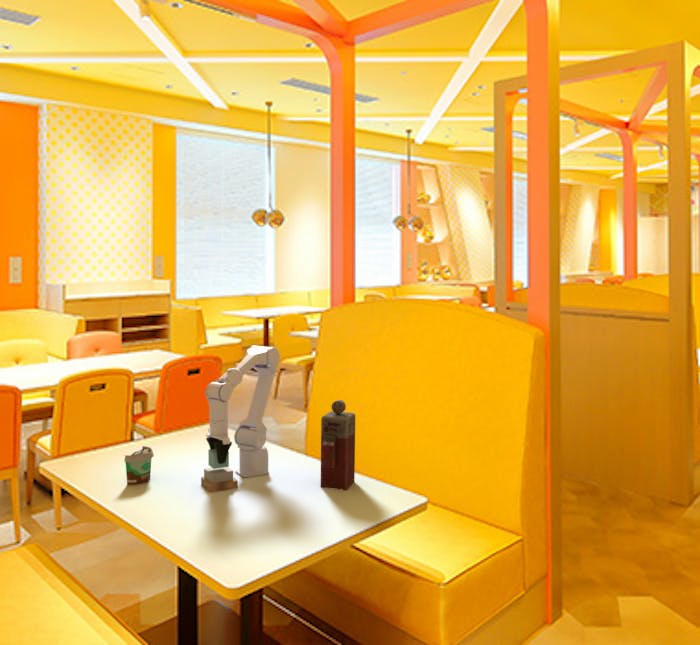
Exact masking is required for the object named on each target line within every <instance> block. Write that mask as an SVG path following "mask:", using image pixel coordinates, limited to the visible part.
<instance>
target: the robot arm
mask: <svg viewBox="0 0 700 645" xmlns="http://www.w3.org/2000/svg"><path fill="white" fill-rule="evenodd" d="M280 359H281V355H280V352H279V349H278V348H277V347H275V346H262V345H255V344H254V345H251V346H250V347H249V348H248V349H247V350H246V355H245V356H244V357H243V359H242V360H241V361H240V362H239V363H238V364H237V365H236V366H235V367H232V368H228V369H227V370H226V372H224V373H223V375H221V377H219V378H218V379H217V380H216V381H212V382H210V383H209V384H207V386H206V389H205V390H206V391H205V392H204V394H205V397H206V400H207V404H208V406H209V428H208V433H206V434H205V437H206V438H205V439H206V442H207V444H208V445H209V449H216V452H217V459H218V463H219V464H223V463H225V462H226V458H227V454H228V451H229V450H230V448H231V446H232V445H233V444H232V443H233V442H232V441H230V440H231V439H230V436H229V428H228V427H229V413H228V412H229V408H228V407H229V406H228V405H229V403H228V402H229V401H230V399H231V398H232V395H233V394H232V393H233V392H234V390H235V389H236V388H237V386H239V385H240V384H241V383H242V382H243V377H244V375H245V374H246V373H248V372H249V371H250V370H251V369H253V368H254V370H255V371H256V372H257V373H258V378H257V381H256V384H255V387H254V388H255V389H254V392H253V396H252V399H251V402H250V406H249V410H248V412H247V413H248V414H247V417H246V418H245V419H243V420H241V421H240V422H239V425H238V426H237V429H236V430H235V432H234V436H233V438H234V444H236V445H237V448H238V449H239V468H238V469H235V473H237V474H238V475H239V476H241V477H242V478H249V477H251V478H252V477H257V476H261V475H262V476H263V475H268V474H270V471H269V451H268V449H267V447H266V446H265V444H266V441H267V431H268V428H267V426H266V425H265V424H264V422H263V420H264V419H263V418H264V416H265V412H266V409H267V405H268V401H269V397H270V394H271V391H272V386H273V382H274V380H275V376H276V373H277V371H278V366H279V362H280ZM229 452H230V451H229Z"/></svg>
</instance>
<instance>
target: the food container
mask: <svg viewBox="0 0 700 645" xmlns="http://www.w3.org/2000/svg"><path fill="white" fill-rule="evenodd" d="M154 456H155V455H154V452H153V449H152V447H149V446H146V445H145V446H144V445H142V447H141V449H139V450H137V451H134V452H133V453H131V454H130V455H128V454H127V455H124V461H123V462H124V463H125V472H126V485H128V486H134V485H135V486H136V485H143V484H146V483H148V482H150V481H151V471H152V470H151V469H152V459H153V457H154Z"/></svg>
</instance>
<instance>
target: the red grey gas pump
mask: <svg viewBox="0 0 700 645" xmlns="http://www.w3.org/2000/svg"><path fill="white" fill-rule="evenodd" d="M346 408H347V405H346V403H345V402H344V400H341V399H336V400H335V401H333V403H332V404H331V411H330V412H328V413H327V412H326V413H325V415H323V416H322V417H321V420H320V421H321V422H320V488H325V489H332V488H333V490H340V489H343V490H342V491H347V490H349V488H350V487H351V486H352V485H353V484H354V483H355V473H356V472H355V468H356V466H355V464H356V460H355V459H356V414H355V413H354V412H346V411H345V410H346Z"/></svg>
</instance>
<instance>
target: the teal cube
mask: <svg viewBox="0 0 700 645" xmlns="http://www.w3.org/2000/svg"><path fill="white" fill-rule="evenodd" d="M207 452H208V466H209V467H210V468H211V467H212V468H213V469H217V468H223V467H228V468H229V467H230V462H229V459H230V458H229V455H230V454H229V452H230V451H228V454H227V458H226V462H225V463H223V464H219V463H218V459H217V452H216V449H210V448H209V449H208V451H207Z"/></svg>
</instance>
